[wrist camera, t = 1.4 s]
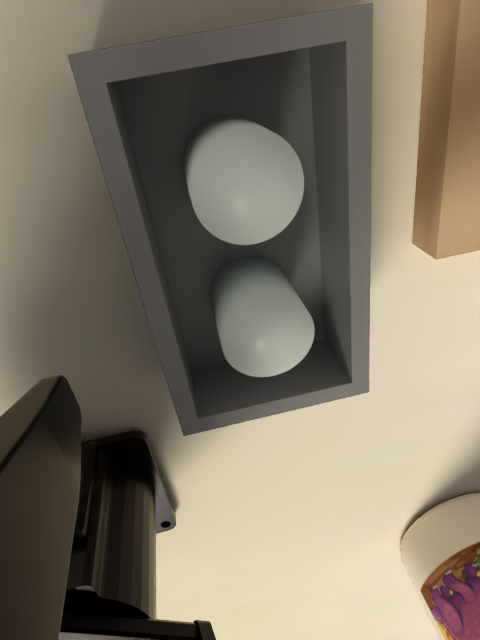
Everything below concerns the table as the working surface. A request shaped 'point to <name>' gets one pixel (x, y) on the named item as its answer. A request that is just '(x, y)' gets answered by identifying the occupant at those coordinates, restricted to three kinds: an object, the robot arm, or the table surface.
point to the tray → (186, 253)
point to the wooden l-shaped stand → (449, 132)
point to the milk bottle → (447, 566)
